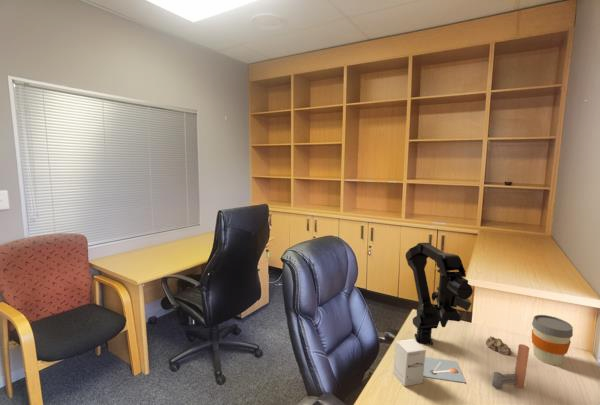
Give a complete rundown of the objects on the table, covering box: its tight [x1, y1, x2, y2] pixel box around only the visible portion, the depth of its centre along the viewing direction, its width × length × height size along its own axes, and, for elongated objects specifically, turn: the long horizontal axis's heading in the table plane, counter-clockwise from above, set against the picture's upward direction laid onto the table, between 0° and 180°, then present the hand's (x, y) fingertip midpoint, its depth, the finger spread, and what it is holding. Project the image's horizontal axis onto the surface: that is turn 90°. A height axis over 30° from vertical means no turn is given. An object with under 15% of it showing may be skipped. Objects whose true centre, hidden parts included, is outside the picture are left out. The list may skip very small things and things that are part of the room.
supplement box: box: [392, 338, 427, 387], centre depth 113 cm, size 7×7×13 cm
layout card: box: [423, 356, 467, 384], centre depth 119 cm, size 12×14×1 cm
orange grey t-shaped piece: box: [491, 343, 530, 390], centre depth 110 cm, size 11×3×14 cm, turn 95°
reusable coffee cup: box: [531, 314, 574, 366], centre depth 127 cm, size 13×13×15 cm
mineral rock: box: [486, 335, 513, 356], centre depth 134 cm, size 11×4×8 cm
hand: (443, 326), depth 124 cm, fingers closed
